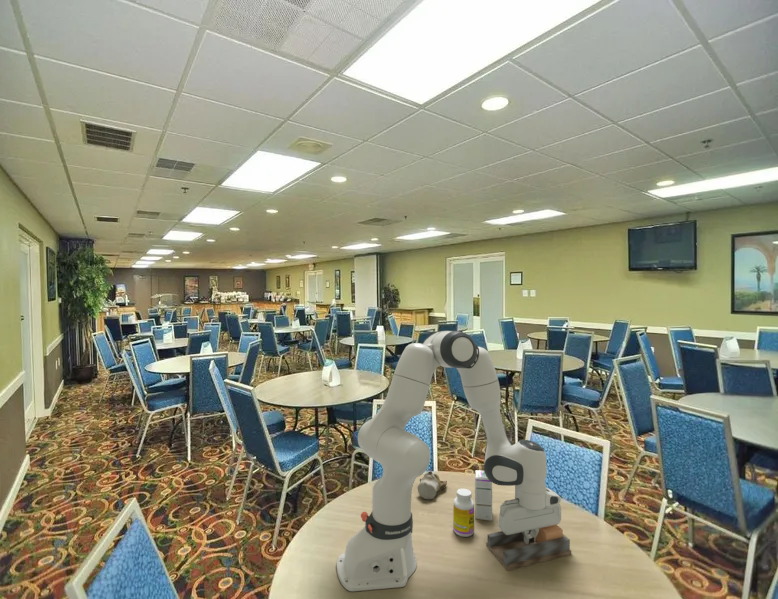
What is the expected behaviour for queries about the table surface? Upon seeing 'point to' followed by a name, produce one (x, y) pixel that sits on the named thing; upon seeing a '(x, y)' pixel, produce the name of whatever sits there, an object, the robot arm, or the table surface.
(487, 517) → the syrup box
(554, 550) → the chute
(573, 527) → the table surface
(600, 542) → the table surface
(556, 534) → the peach block
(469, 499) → the supplement bottle
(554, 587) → the table surface
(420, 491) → the ceramic sculpture
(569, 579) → the table surface
